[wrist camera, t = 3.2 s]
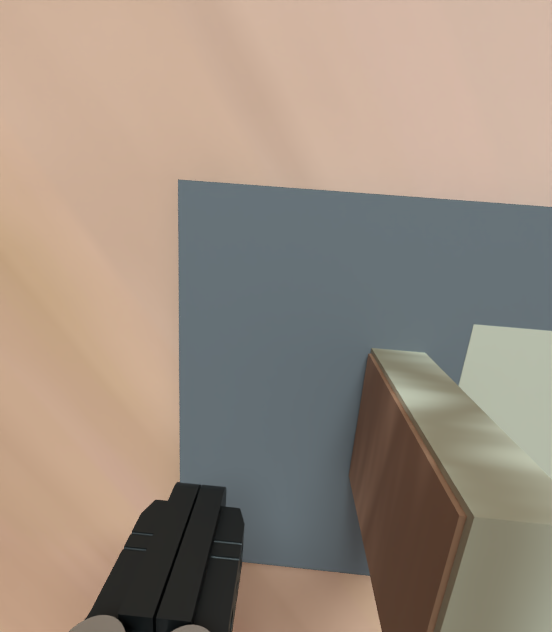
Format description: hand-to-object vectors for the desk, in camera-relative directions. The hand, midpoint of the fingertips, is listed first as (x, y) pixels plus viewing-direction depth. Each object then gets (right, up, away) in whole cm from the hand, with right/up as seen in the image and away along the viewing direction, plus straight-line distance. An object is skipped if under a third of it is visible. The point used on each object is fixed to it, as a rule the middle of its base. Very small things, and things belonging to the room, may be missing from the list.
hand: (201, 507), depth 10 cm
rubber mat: (+10, +1, +7) cm, 12 cm away
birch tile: (+8, +1, +6) cm, 10 cm away
